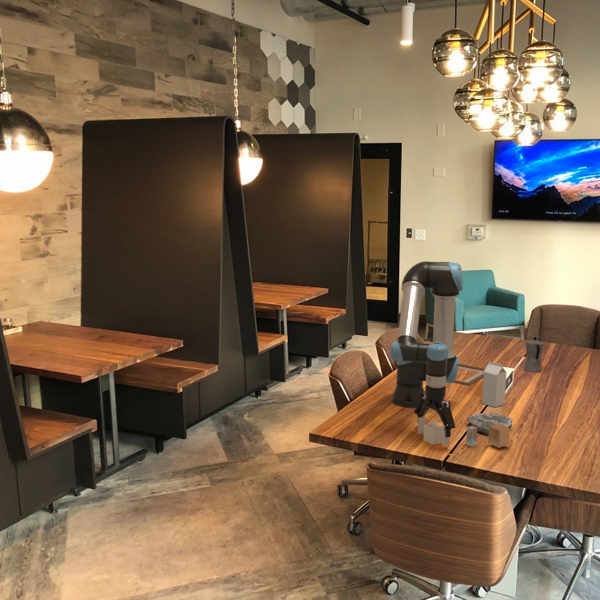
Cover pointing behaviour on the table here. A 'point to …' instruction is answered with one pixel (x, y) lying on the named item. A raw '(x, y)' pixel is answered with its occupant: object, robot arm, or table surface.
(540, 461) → the table surface
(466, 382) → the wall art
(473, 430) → the post
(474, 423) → the brain slice
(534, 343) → the coffeepot
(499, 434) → the tan brown block
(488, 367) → the milk carton
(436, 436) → the cream sugar cube
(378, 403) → the table surface
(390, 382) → the table surface
